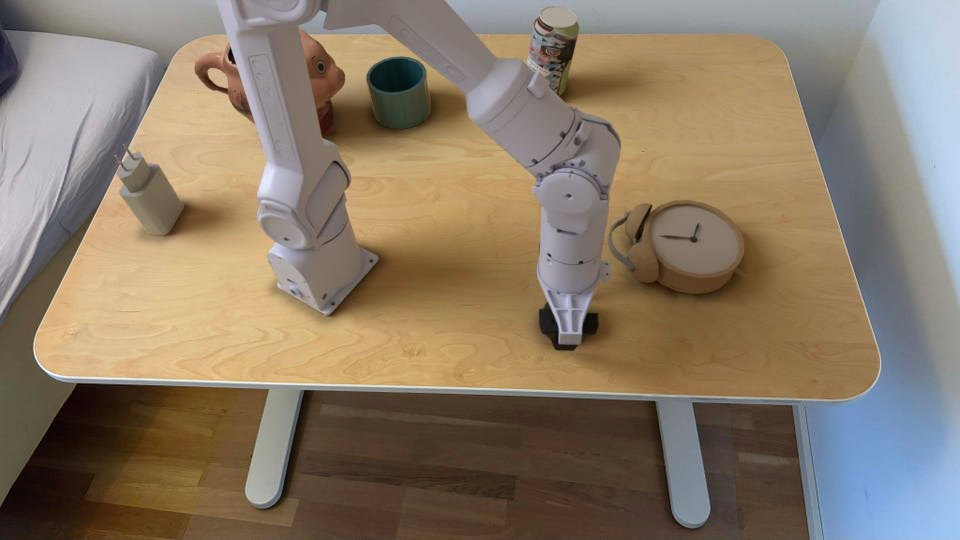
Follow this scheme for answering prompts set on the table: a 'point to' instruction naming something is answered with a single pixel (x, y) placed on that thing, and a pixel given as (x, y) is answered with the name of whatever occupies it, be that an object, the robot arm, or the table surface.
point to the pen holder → (399, 92)
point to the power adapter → (148, 194)
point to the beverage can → (553, 45)
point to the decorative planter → (320, 70)
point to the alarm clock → (681, 246)
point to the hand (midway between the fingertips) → (563, 319)
